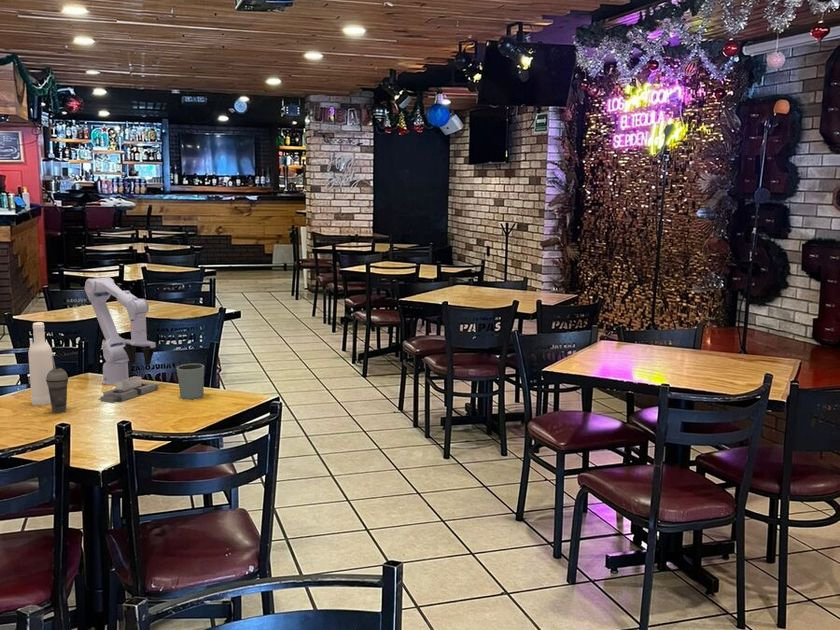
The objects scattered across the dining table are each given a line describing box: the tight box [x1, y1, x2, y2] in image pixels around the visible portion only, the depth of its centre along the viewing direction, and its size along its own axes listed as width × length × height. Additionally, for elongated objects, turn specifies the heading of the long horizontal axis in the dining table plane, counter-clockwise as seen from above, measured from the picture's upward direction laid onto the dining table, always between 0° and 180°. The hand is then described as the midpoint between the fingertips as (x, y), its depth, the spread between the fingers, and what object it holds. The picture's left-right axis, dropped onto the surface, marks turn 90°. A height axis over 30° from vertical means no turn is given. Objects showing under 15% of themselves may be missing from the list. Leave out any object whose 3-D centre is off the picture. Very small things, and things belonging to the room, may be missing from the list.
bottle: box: [27, 321, 54, 406], centre depth 291 cm, size 8×8×30 cm
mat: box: [97, 388, 160, 403], centre depth 306 cm, size 11×21×1 cm, turn 157°
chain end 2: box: [136, 382, 159, 396], centre depth 311 cm, size 9×11×2 cm
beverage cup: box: [46, 355, 69, 414], centre depth 282 cm, size 7×7×20 cm
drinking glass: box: [175, 363, 205, 401], centre depth 303 cm, size 10×10×12 cm
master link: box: [115, 375, 143, 393], centre depth 305 cm, size 3×10×6 cm, turn 157°
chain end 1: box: [99, 388, 138, 404], centre depth 299 cm, size 9×11×2 cm
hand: (140, 364), depth 314 cm, fingers open, 7 cm apart
